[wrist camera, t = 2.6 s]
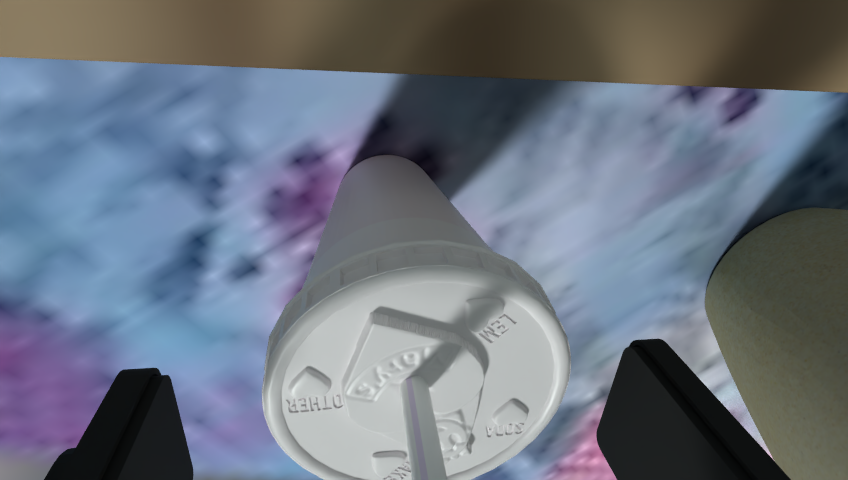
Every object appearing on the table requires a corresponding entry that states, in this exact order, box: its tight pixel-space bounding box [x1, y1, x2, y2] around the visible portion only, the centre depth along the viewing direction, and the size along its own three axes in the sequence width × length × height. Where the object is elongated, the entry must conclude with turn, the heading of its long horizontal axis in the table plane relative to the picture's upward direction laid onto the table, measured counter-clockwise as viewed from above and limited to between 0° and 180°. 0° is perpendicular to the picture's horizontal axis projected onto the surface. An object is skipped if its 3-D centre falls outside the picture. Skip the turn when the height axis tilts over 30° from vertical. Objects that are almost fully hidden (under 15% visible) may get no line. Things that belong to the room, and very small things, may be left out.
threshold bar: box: [0, 0, 848, 93], centre depth 13 cm, size 24×3×5 cm, turn 86°
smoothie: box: [262, 155, 571, 480], centre depth 12 cm, size 6×6×14 cm
